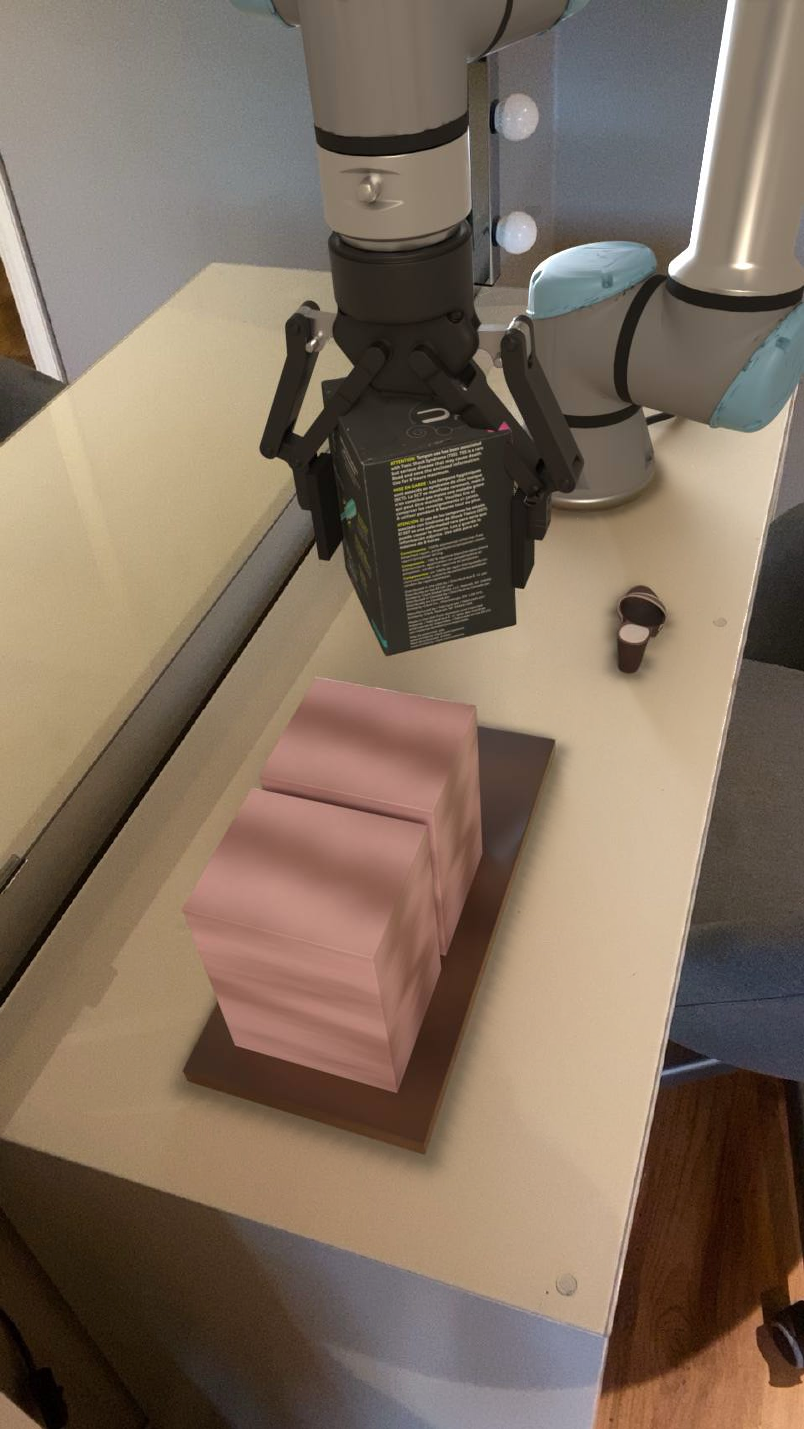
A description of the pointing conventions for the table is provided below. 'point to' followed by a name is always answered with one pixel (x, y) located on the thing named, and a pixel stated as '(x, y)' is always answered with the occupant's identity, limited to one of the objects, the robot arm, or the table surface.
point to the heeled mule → (638, 625)
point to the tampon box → (423, 519)
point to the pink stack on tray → (361, 907)
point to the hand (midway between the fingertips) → (424, 562)
